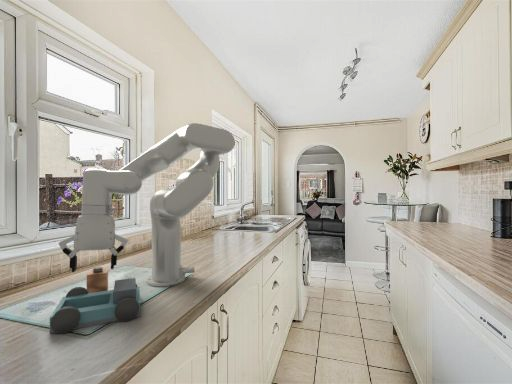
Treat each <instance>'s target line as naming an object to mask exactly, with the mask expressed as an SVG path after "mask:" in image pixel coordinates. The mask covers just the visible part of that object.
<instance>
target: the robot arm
mask: <svg viewBox="0 0 512 384" xmlns="http://www.w3.org/2000/svg"><path fill="white" fill-rule="evenodd" d="M235 145H236V140H235V137H234V135H233V134H232V133H231V132H230V131H229V130H227V129H225V128H220V127H215V126H211V125H206V124H202V123H199V122H197V123H196V122H195V123H194V122H192V123H189V124H187V125H184V126H182V127H180V128H178V129H176V130H175V131H173V132H172V133H171V134H169V135H168V136H166V137H165V138H164V139H162V140H161V141H159V142H158V143H156V144H155V145H153V146H151V147H150V148H149V149H148V150H146V151H144V152H143V153H142V154H141V155H139V156H138V157H136V158H135V159H133V160H132V161H131V162H128V164H126V165H124V166H123V167H122V168H120V169H119V170H107V169H103V168H101V169H100V168H87V169H85V170H84V172H83V174H82V189H81V192H82V193H81V210H80V213H81V214H80V215H78V216H77V219H76V223H75V230H74V235H71V236H69V237H67V238H65V239H63V240H61V241H60V242H59V241H58V245H59V248H60V249H61V250H62V252H63V253H64V254H65V255H66V256H67V257H68V258H69V266H68V267H69V269H71V273H75V272H76V271H77V269H78V256H77V254H78V253H79V252H81V251H82V252H83V251H107V250H109V252H110V253H111V257H110V269H111V270H114V268H115V266H117V264H118V262H117V261H118V255H119V254H120V253H121V252H122V251H123V250H124V249H125V247H126V245H127V243H128V242H129V240H128V239H127V238H126V237H123V236H120V235H118V234H116V224H115V223H116V222H115V216H114V215H112V213H114V212H115V213H116V212H117V209H118V208H117V207H114V206H112V201H113V200H112V199H113V194H117V195H120V196H121V195H122V196H123V195H124V196H131V195H135V194H137V193H138V192H139V191H140V190H141V188H142V186H143V181H146V179H148V178H150V177H151V176H153V175H155V174H157V173H160V172H163V171H164V170H167V169H168V168H171V166H173V165H174V164H175V163H177V162H178V161H179V160H181V158H183V157H185V156H186V155H187V154H188V153H190V152H191V151H192V150H195V149H200V156H199V158H198V159H197V161H196V162H194V164H192V165H191V166H190V167H188V168H187V169H186V170H184V171H183V172H182V173H181V174H179V176H178V177H177V178H176V180H175V187H172V188H165V189H164V188H163V189H160V190H158V191H156V192H155V193H153V195H151V196H152V197H151V199H150V203H149V211H150V220H151V221H150V222H151V275H150V276H148V277H147V278H146V284H147V285H149V286H152V287H169V286H170V285H171V286H175V285H178V284H181V283H183V282H184V281H185V280H186V274H192V273H193V274H194V273H195V266H192V267H191V266H185V267H184V266H183V265H182V251H181V250H182V248H181V247H182V245H181V244H182V243H181V239H182V228H181V227H182V226H181V219H182V218H184V217H186V216H187V215H189V214H190V213H191V212H192V211H193V210H195V208H197V207H198V206H199V205H200V204H201V203H202V202H203V201H204V200H205V199H206V198H207V197H208V196H209V195H210V194H211V191H212V190H213V187H214V177H215V176H216V174H217V173H218V172H219V169H220V156H221V155H224V154H229V153H230V152H231V151H233V149H234V147H235ZM116 241H118V242H121V243H120V245H119V246H118V247H115V243H116ZM70 243H73V249H71V248H69V246H68V244H70Z"/></svg>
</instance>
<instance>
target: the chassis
mask: <svg viewBox="0 0 512 384" xmlns="http://www.w3.org/2000/svg"><path fill="white" fill-rule="evenodd" d="M136 280H137V279H136V277H132V278H125V279H123V278H122V279H115V280H114V284H113V289H111V290H110V289H108V291H102V292H95V293H89V292H88V290H87V288H85V287H82V286H75V287H72V288H70V289H69V291H68V292H66V295H65V296H62V298H61V299H60V300H59V302H58V304H56V307H55V308H54V310H53V312H52V313H51V315H50V316H49V334H53V333H54V334H55V333H57V334H61V335H62V334H67V333H70V332H72V331H73V330H75V329H80V328H81V327H82V328H86V326H87V327H92V326H97V325H96V324H98V325H102V324H101V323H103V324H106V323H105V322H108V323H113V322H122V323H126V322H130V321H132V320H134V319H135V318H140V317H142V316H141V315H142V314H141V313H142V312H141V309H142V307H141V294H140V293H141V292H140V286H138V285H137V282H136ZM91 325H92V326H91Z"/></svg>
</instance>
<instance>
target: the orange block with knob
mask: <svg viewBox="0 0 512 384" xmlns="http://www.w3.org/2000/svg"><path fill="white" fill-rule="evenodd" d="M86 289H87V290H88V292H89V293H95V292H102V291H109V268H108V267H107V268H103V267H102V266H97V267H93V269H90V270H88V272H87V274H86Z"/></svg>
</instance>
